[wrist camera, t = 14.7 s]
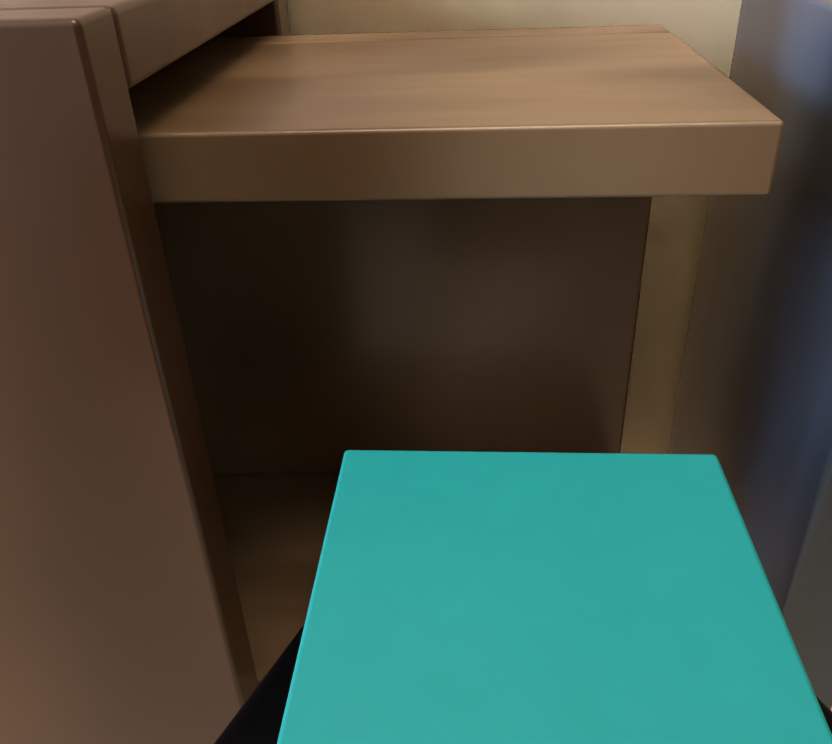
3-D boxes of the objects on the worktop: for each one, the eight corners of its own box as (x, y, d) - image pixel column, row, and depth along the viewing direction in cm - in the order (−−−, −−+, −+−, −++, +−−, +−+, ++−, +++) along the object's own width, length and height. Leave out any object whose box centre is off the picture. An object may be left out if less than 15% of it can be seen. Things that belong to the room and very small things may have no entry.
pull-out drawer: (1125, -40, 13) (1658, 30, 7) (916, 502, 19) (1110, 778, 13) (88, -5, 14) (-182, 77, 8) (202, 492, 20) (92, 739, 14)
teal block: (717, 452, 8) (878, 837, 5) (667, 692, 11) (757, 1079, 7) (344, 447, 9) (258, 809, 5) (369, 682, 11) (318, 1048, 7)
